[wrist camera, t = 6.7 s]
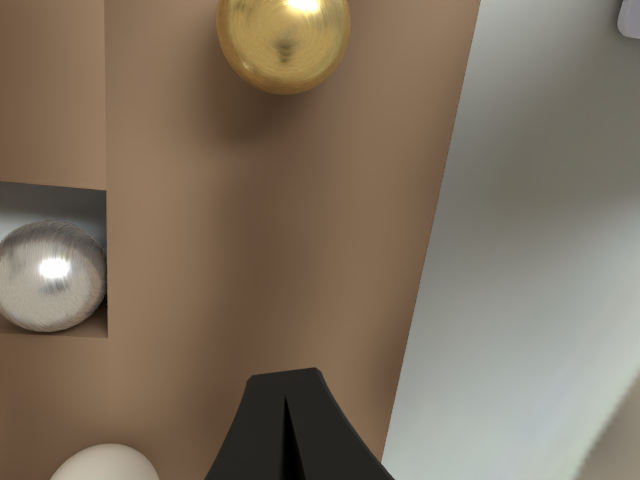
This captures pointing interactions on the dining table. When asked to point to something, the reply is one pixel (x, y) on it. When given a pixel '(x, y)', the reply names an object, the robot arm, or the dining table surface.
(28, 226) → the steel ball
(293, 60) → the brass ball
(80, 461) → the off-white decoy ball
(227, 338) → the walnut board
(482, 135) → the dining table surface
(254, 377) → the robot arm
